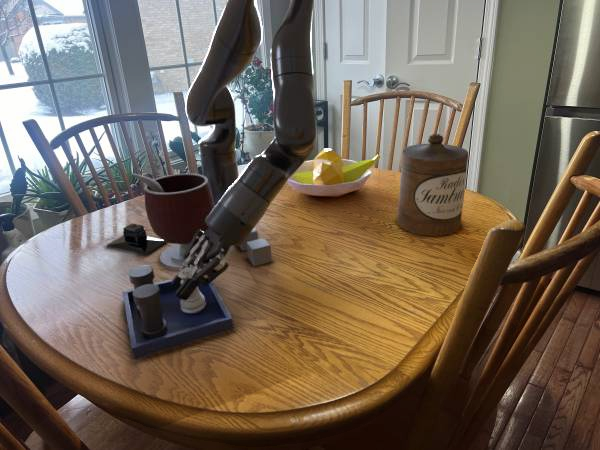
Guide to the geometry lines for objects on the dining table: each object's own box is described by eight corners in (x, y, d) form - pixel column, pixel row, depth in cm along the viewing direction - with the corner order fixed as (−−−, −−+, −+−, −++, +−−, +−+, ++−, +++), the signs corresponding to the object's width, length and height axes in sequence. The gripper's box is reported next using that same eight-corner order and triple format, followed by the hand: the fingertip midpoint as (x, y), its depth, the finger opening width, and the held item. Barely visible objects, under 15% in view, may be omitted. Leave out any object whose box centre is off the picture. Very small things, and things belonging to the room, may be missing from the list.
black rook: (136, 307, 79) (127, 268, 75) (159, 301, 80) (151, 263, 77) (139, 319, 75) (129, 279, 72) (162, 312, 77) (154, 273, 74)
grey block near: (248, 258, 95) (246, 242, 93) (265, 254, 96) (263, 237, 95) (254, 266, 92) (252, 249, 90) (271, 261, 93) (270, 245, 91)
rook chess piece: (183, 301, 79) (175, 263, 76) (207, 299, 80) (201, 260, 76) (179, 316, 75) (170, 276, 72) (205, 313, 75) (198, 273, 72)
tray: (125, 303, 81) (122, 291, 80) (207, 281, 87) (206, 270, 86) (135, 362, 66) (131, 348, 65) (233, 331, 72) (232, 318, 71)
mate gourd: (220, 238, 104) (209, 157, 96) (220, 267, 92) (208, 176, 84) (153, 246, 102) (136, 163, 94) (144, 276, 90) (124, 184, 82)
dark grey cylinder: (141, 328, 73) (131, 287, 70) (165, 321, 74) (157, 281, 71) (144, 342, 70) (133, 300, 66) (169, 334, 71) (160, 293, 68)
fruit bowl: (266, 196, 130) (263, 159, 125) (315, 171, 150) (314, 138, 145) (348, 214, 115) (348, 172, 110) (391, 183, 135) (393, 147, 130)
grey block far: (236, 244, 102) (235, 228, 100) (253, 240, 103) (251, 224, 101) (242, 251, 98) (240, 235, 97) (259, 246, 100) (257, 231, 98)
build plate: (167, 242, 104) (164, 224, 102) (146, 256, 98) (142, 237, 96) (128, 234, 109) (124, 217, 107) (105, 247, 103) (101, 229, 101)
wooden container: (423, 241, 98) (431, 145, 89) (385, 218, 111) (389, 132, 102) (474, 228, 104) (486, 136, 95) (432, 207, 116) (440, 124, 107)
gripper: (210, 188, 78) (153, 264, 79) (233, 214, 66) (166, 304, 67) (242, 209, 82) (187, 282, 83) (269, 238, 71) (205, 322, 71)
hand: (178, 291), depth 75 cm, fingers closed on rook chess piece, 3 cm apart
